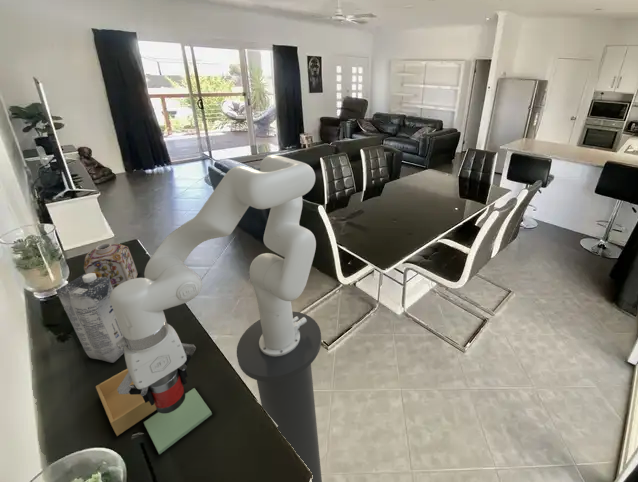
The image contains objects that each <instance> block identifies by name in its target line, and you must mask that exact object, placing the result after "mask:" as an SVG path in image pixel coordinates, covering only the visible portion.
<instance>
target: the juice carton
mask: <svg viewBox="0 0 638 482" xmlns="http://www.w3.org/2000/svg"><path fill="white" fill-rule="evenodd" d="M112 291H113V287H112V285H111V281H110V278H105V277H96V274H95V273H89V274H86V273H83V274H81V275H80V276H78V277H77V278H75V279H73V280H71V281H69V282H68V283H66V284H65V285H63V286H61V287H59V288H58V289H56V290H55V292H56V295H57V296H58V299H59V300H60V303H61V305H62V307H63V309H64V311H65V313H66V315H67V318H68V319H69V322H70V323H71V326H72V328H73V331H74V332H75V334H76V336H77V338H78V340H79V342H80V344H81V347H82V348H83V350H84V352H85V353H86V355H87V356H88V358H90V359H93V360H99V361H104V362H107V363H115V362H117V360H118V359H120V358H121V357H122V356H123V355H124V347H121V348H119V349H118V347H117V344H116V343H117V342H119V341H120V340H121V339H122V337H123V335H122V331H121V328H120V326H119V323H118V321H117V318H116V316H115V313H114V311H113V308H112V305H111V303H110V294H111V292H112Z"/></svg>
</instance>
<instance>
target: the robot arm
mask: <svg viewBox="0 0 638 482" xmlns="http://www.w3.org/2000/svg"><path fill="white" fill-rule="evenodd" d="M315 183H316V173H315V170H314V169H313V167H311V166H310V164H308V163H306V162H304V161H300V160H297V159H292V158H289V157H286V156H281V155H276V154H270V155H267V156H265V157H264V158H262V159H261V162H260V165H259V170H258V169H255V168H252V167H248V166H243V165H237V166H234V167H232V168H230V169H229V170H228V171H227V172H226V173H225V175H224V176H223V177H222V179H221V180H220V181H219V182H218V184H217V185H216V187H215V188H214V190H213V191H212V193H211V194H210V195H209V197H208V198H207V200H206V201H205V203H204V204H203V206H202V207H201V209H200V210H199V211H198V213H197V214H196V215H195V216H194V217H192V218H191V219H190V220H188V221H186V222H184V223H183V224H181V225H180V226H178V227H177V228H176V229H174V230H173V231H172V232H171V233H169V234H168V235H167V236H165V238H164V239H163V240H162V241H161V243H160V244H159V246H158V247H157V248H156V249H155V251H154V252H153V254H152V255H151V256H150V258H149V260H148V261H147V263H146V266H145V267H144V273H143V275H144V277H137V278H135V279H131V280H128V281H125V282H123V283H121V284H120V285H118V286H117V287H115V288H114V289H113V291H112V292H111V294H110V303H111V305H112V308H113V311H114V313H115V316H116V318H117V321H118V323H119V326H120V328H121V331H122V335H123V337H122V339H121V340H120V341H119V342H117V343H116V344H117V347H118V349H119V348H121V347H124V354H123V355H124V360H125V361H124V362H125V365H126V369H128V373H127V375H126V376H125V378H124V379H123V381H122V382H121V384H120V385H119V387H118V388H117V391H118V393H119V394H131V395H135V394H141V396H142V397H143V399H144V401H145V403H147V402H148V401H149V402H150V404H151V406H152V405H154V403H155V402H154V399H153V397H152V394H151V392H150V390H149V388H148V386H149V385H151V384H153V383H154V382H156V381H158V380H159V379H161V378H163V377H164V376H166V375H168V374H169V373H171V372H172V371H174V370H176V369H177V370H178V373H179V375H180V378H181V381H182V384H183V385H186V384H187V383H188V382H187V379H186V378H187V377H188V372H187V369H188V366H187V365H188V364H189V362H190V361H191V359H192V356H193V355H194V353H195V351H196V350H197V347H196V346H195V344H192V343H191V344H190V343H182V342H181V338H180V337H179V334H178V333H177V331H176V329H175V328H174V327H173V326H172V325H171V324H169V323H168V321H167V318H166V315H165V312H164V310H168V309H171V308H174V307H177V306H181V305H183V304H186V303H188V302H191V301H193V299H195V298H196V297H197V296H198V295H199V294H200V292H201V291H202V289H203V280H202V278H201V276H200V275H199V274H198V273H196V271H195V270H193V269H191V268H190V267H189V266H187V264H185V262H186V260H187V258H188V257H189V256H190V254H191V253H192V252H193V251H194V250H195V249H196V248H197V247H199V245H201V244H202V243H204V242H208V241H210V240H215V239H218V238H220V239H221V238H224V237H228V236H231V235H232V233H233V232H234V230H235V229H236V227H237V226H238V225H239V223H240V221H241V219H242V218H243V216H244V215H245V214H246V212H247V210H248V209H249V208H250V207H251V208H254V209H257V210H266V209H267V210H268V209H270V210H269V214H268V218H267V221H266V224H265V230H264V232H263V233H264V234H263V244H264V246H265V247H266V248H267V249H269V250H270V251H272V252H273V253H271V252H270V253H269V252H265V253H261V254H259V255H257V256H256V257H254V259H253V260H252V262H251V263H250V266H249V273H248V274H249V279H250V283H251V285H252V288H253V291H254V294H255V297H256V302H257V308H258V314H259V320H261V326H262V332H263V334H262V335H261V337H260V340H259V346H260V349H261V351H262V352H263V353H264V354H266V355H268V356H272V357H277V356H282V355H285V354H287V353H289V352H291V351H292V350H293V349H295V347H296V346H297V345H298V343H299V341H300V332H299V330H298V329H299V328H300V326H301V325H303V324H305V323H306V322H307V320H306V318H305V317H303V318H302V319H300V320H299V318H298V317H297V316H296V317H295V318H293V314H292V311H293V307H292V302H293V301H295V300H297V299H298V298H299V297H300V296H301V295H302V293H303V292H304V290H305V288H306V286H307V283H308V280H309V276H310V273H311V269H312V266H313V261H314V258H315V253H316V250H317V249H316V248H317V240H316V237H315V235H314V233H313V232H312V231H311V229H308V228H306V227H304V226H302V225H300V220H301V215H302V210H303V206H304V205H303V203H304V200H303V196H305V195H306V194H308V193H309V192H310V191H311V190H312V189H313V187H314V185H315ZM274 253H276V254H274ZM278 255H279V256H278ZM297 320H299V321H298V322H296V321H297ZM132 381H133V383H134V385H130V384H131V382H132Z"/></svg>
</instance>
